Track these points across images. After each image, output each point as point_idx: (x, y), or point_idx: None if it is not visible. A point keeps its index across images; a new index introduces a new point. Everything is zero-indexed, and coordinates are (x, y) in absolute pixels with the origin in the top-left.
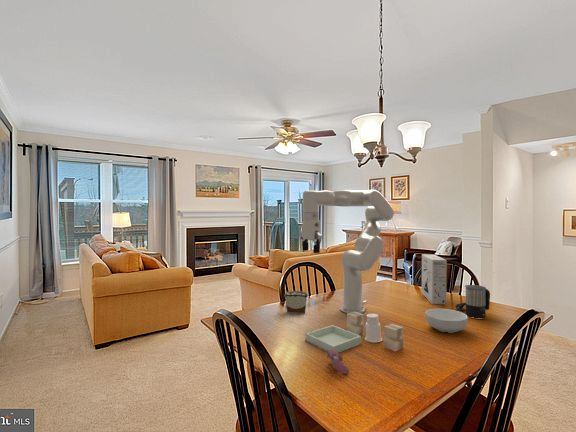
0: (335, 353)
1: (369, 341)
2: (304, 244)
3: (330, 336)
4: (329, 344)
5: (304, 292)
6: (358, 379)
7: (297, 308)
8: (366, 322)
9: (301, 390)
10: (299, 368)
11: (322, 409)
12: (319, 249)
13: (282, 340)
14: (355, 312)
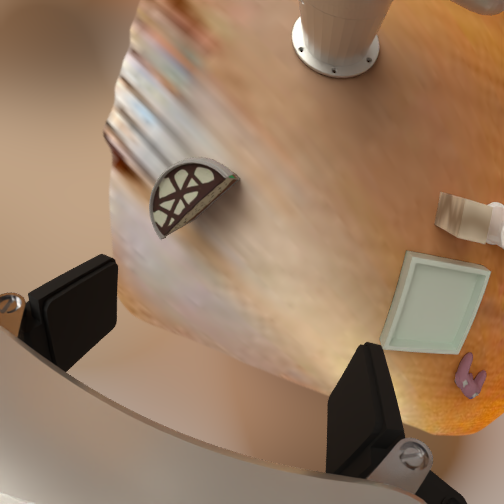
0: (475, 392)
1: (492, 244)
2: (69, 350)
3: (420, 289)
4: (449, 353)
5: (196, 162)
6: (495, 369)
7: (214, 197)
8: (501, 233)
9: (440, 427)
10: (419, 406)
11: (467, 427)
12: (387, 372)
13: (335, 366)
14: (471, 207)
